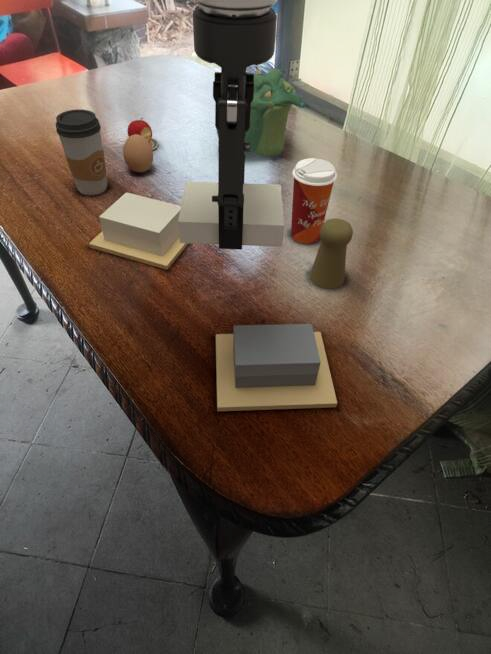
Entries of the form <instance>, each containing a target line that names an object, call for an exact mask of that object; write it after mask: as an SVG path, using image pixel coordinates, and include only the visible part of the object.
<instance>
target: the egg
mask: <svg viewBox="0 0 491 654" xmlns="http://www.w3.org/2000/svg"><path fill="white" fill-rule="evenodd" d="M153 151H154V150H152V148H151V146H150V144H149V143H148V141H147V140H146V139H145V138H144V137H143V136H141V135H138V134H134V135H131V136H130V137H129V136H128V137H127V139H126V140H125V142H124V145H123V148H122V155H123V160H124V162H125V164H126V166H127V168H129V169H130V170H131V171H133V172H135V173H139V174H140V173H145V172H146V171H148V170H149V169H150V168H151V167H152V165H153V162H154V153H153Z"/></svg>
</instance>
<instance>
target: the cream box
mask: <svg viewBox="0 0 491 654" xmlns="http://www.w3.org/2000/svg"><path fill="white" fill-rule="evenodd" d="M180 210H181V205H178V204H174V203H170V202H167V201H163V200H159V199H154V198H150V197H147V196H142V195H139V194H135V193H131V192H125V193H124V194H122V196H120V198H118V199H117V200H116V201H115V202H113V203H112V204H111V205H110V206H109V207H108V208H107V209H106V210H105V211H104V212H102V213H101V214H100V215H99V216H98V218H99V219H98V220H99V223H100V228H101V232H100V233H98V234H97V235H96V236H95V237H94V238H93V239H92V240H91V241H90V242H89V243H88V246H89V248H90V249H93V250H97V251H100V252H103V253H107V254H111V255H114V256H117V257H121V258H125V259H128V260H131V261H133V262H134V261H135V262H138V263H142V264H145V265H148V266H152V267H155V268H159V269H162V270H166V271H168V270H169V269H170V268H171V266H172V265H173V264H174V263H175V262H176V261H177V259H178V258H179V256H180V255H181V254H182V253H183V251H185V249H186V248H187V247H188V245H189V244H190V243H180V238H179V226H178V220H179V215H180Z"/></svg>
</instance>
